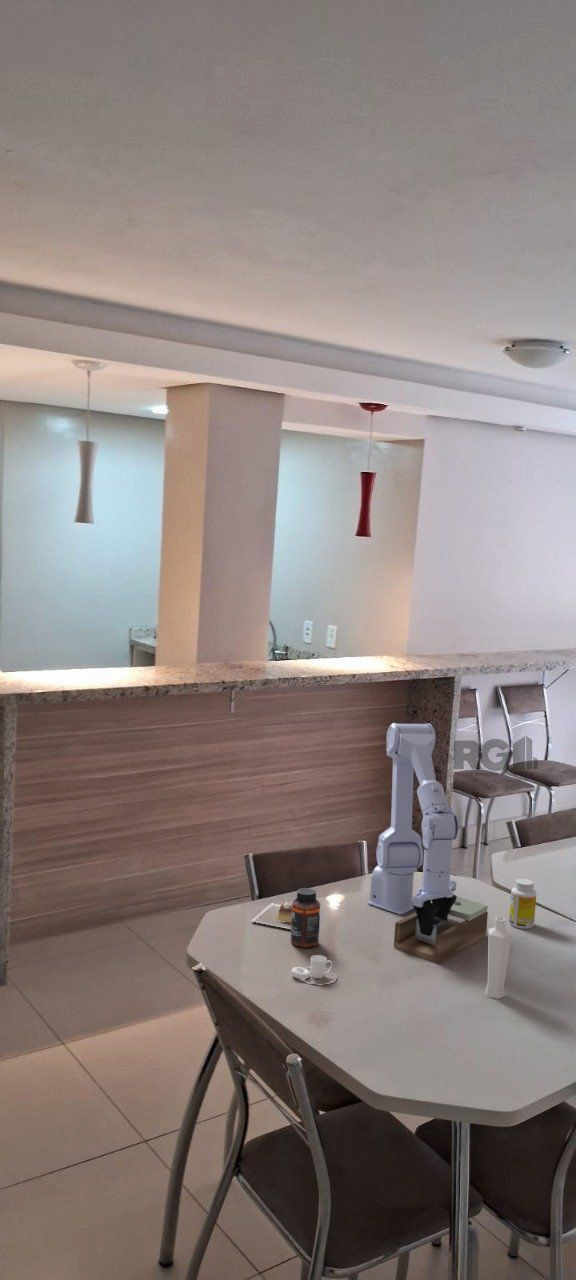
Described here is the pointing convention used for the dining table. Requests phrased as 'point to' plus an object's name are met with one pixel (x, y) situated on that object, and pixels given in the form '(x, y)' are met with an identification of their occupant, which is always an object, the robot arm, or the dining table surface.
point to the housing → (439, 937)
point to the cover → (466, 909)
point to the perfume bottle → (497, 958)
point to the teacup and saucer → (312, 968)
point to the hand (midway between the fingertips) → (432, 930)
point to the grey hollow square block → (432, 930)
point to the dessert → (279, 913)
